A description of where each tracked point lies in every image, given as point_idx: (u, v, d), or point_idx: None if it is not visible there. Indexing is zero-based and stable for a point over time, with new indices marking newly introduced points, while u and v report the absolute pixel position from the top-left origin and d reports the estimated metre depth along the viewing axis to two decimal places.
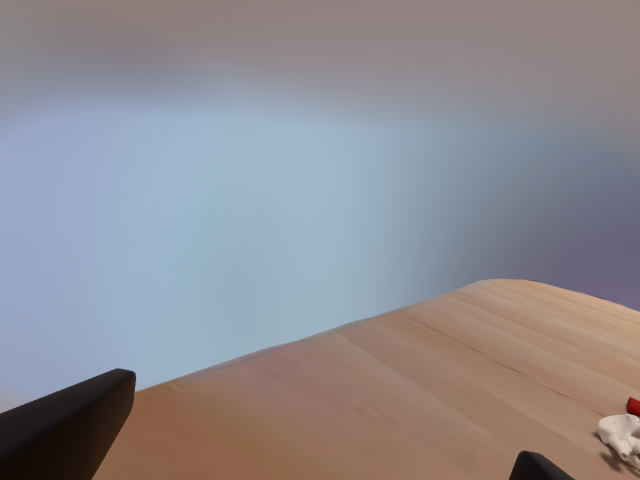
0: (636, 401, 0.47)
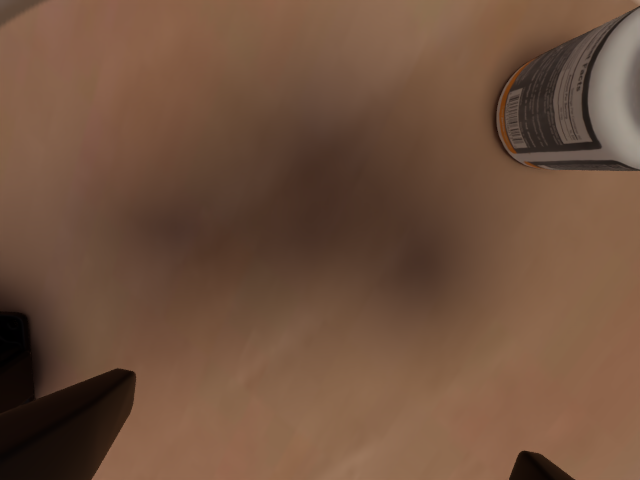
0: None
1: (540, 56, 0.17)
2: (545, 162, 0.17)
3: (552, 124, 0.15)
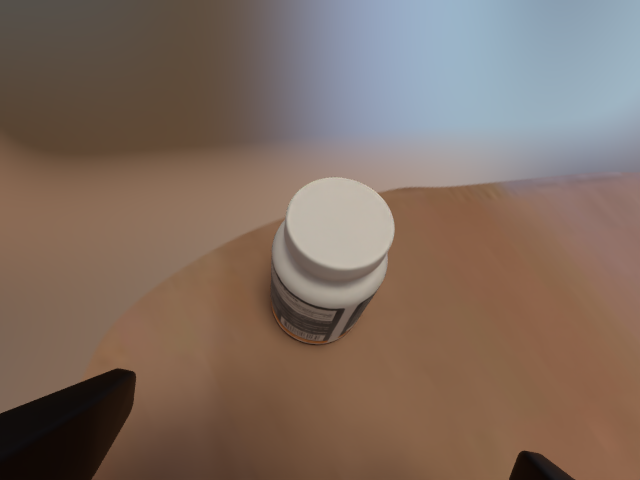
0: None
1: None
2: (344, 329, 0.21)
3: (313, 320, 0.19)
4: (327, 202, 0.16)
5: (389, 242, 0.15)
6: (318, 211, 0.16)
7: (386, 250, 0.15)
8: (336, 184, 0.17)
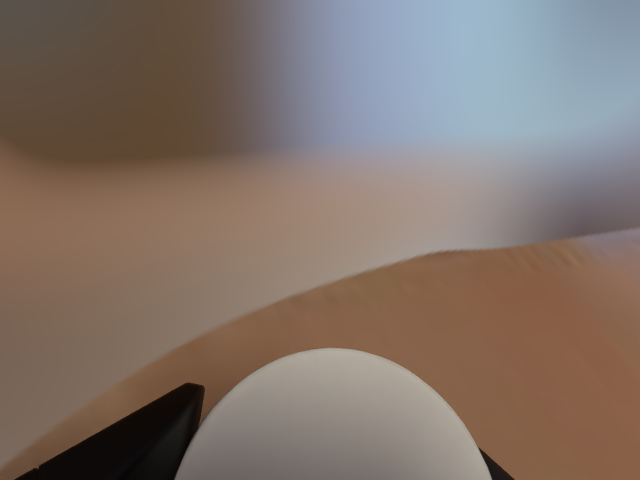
0: None
1: None
2: None
3: None
4: (299, 448, 0.05)
5: None
6: None
7: None
8: (327, 376, 0.06)
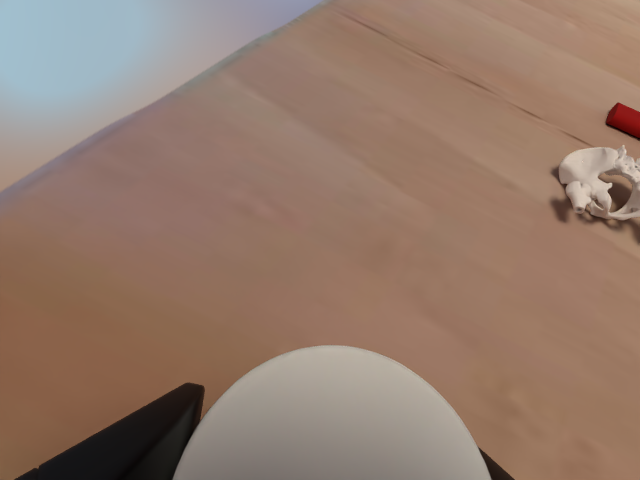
0: (623, 108, 0.36)
1: None
2: None
3: None
4: (298, 444, 0.05)
5: None
6: None
7: None
8: (326, 373, 0.06)
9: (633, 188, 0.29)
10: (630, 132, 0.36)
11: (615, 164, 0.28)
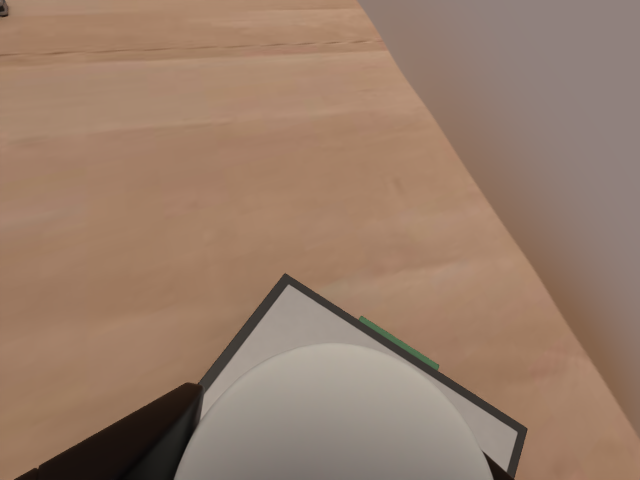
0: None
1: None
2: None
3: None
4: (299, 440, 0.05)
5: None
6: None
7: None
8: (327, 370, 0.06)
9: None
10: None
11: None
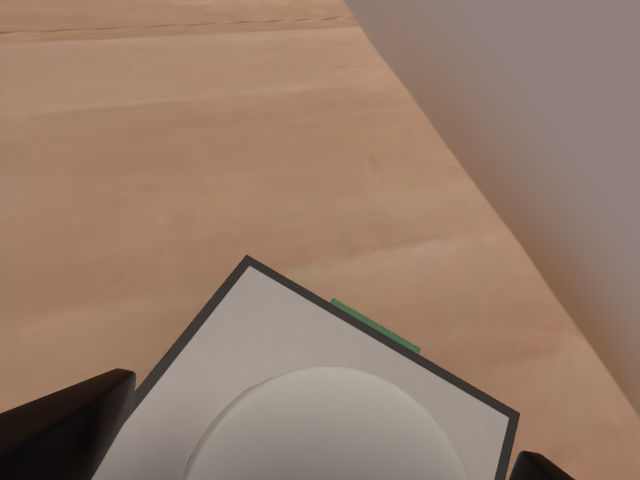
0: None
1: None
2: None
3: None
4: (295, 461, 0.06)
5: None
6: None
7: None
8: (322, 392, 0.06)
9: None
10: None
11: None
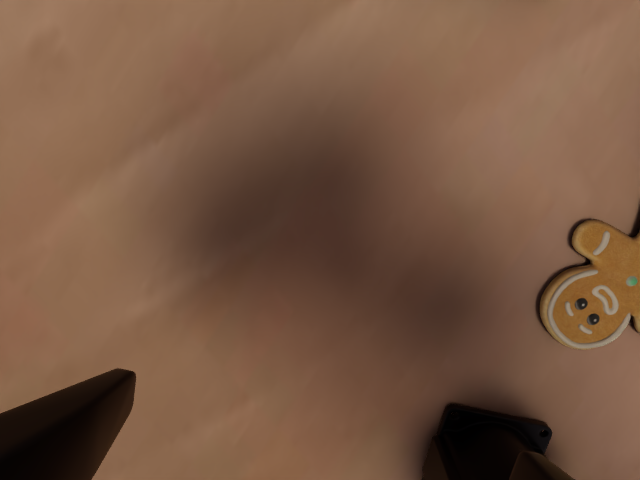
0: None
1: None
2: None
3: None
4: None
5: None
6: None
7: None
8: None
9: None
10: None
11: None
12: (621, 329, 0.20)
